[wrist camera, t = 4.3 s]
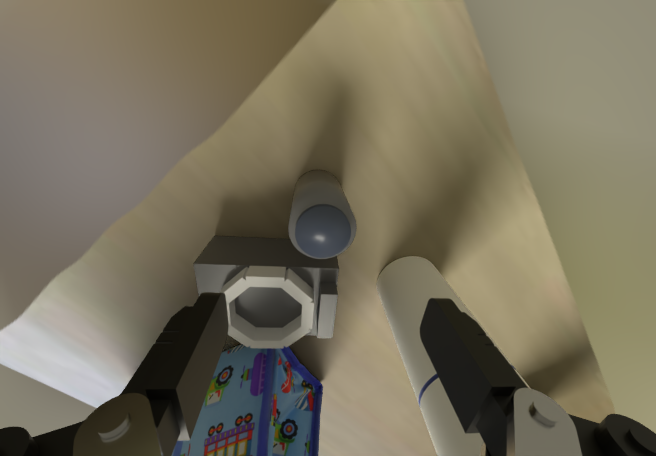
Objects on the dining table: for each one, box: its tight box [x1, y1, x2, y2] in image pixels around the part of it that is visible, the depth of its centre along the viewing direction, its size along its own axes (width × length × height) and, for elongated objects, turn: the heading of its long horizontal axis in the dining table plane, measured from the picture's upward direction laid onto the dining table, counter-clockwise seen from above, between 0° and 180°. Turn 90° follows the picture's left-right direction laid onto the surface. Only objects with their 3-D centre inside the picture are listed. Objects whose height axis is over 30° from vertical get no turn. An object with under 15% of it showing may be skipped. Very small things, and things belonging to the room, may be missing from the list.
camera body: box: [194, 236, 339, 348], centre depth 24 cm, size 12×8×7 cm, turn 85°
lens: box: [288, 170, 356, 259], centre depth 20 cm, size 4×4×9 cm
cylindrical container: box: [377, 256, 531, 456], centre depth 18 cm, size 7×7×25 cm
